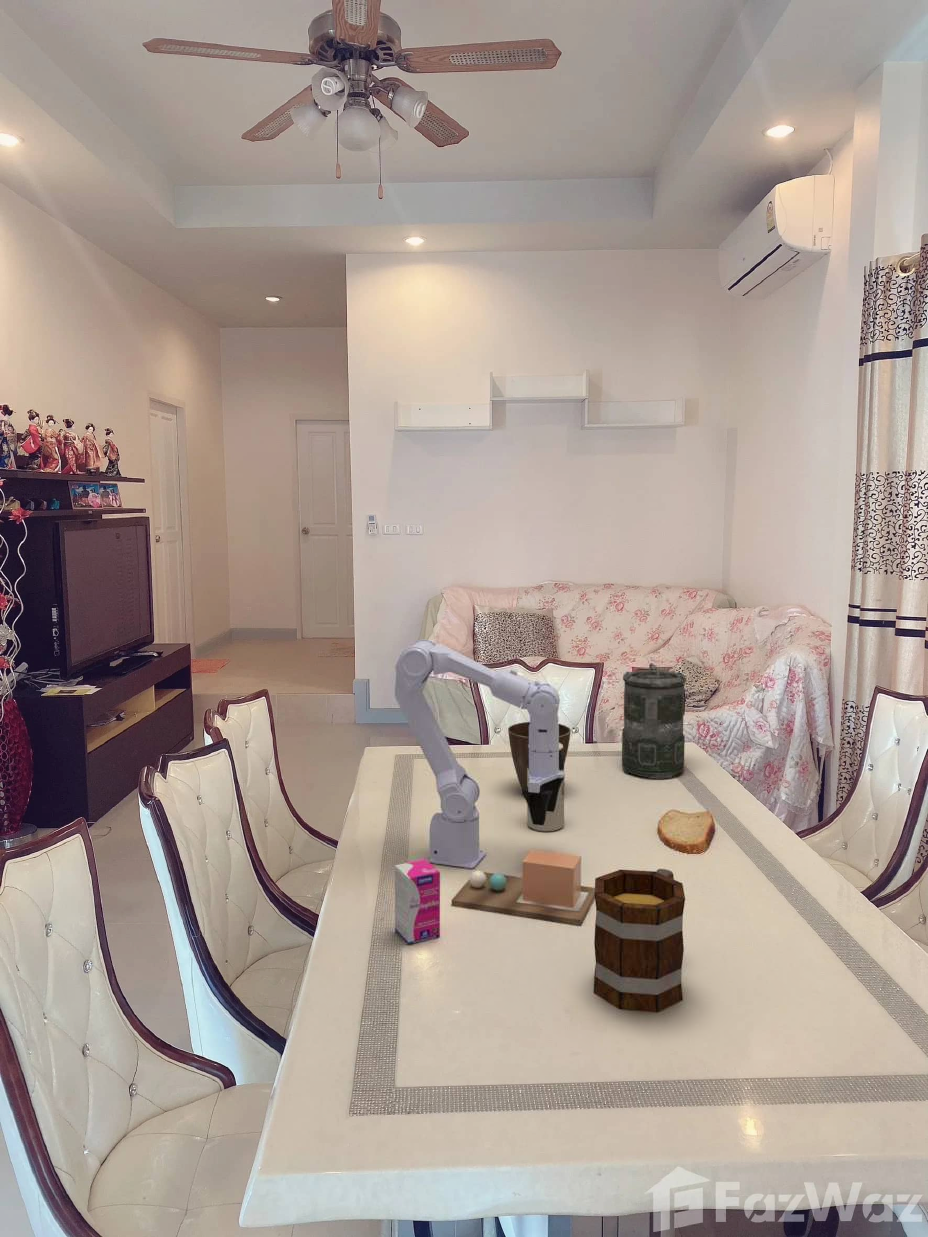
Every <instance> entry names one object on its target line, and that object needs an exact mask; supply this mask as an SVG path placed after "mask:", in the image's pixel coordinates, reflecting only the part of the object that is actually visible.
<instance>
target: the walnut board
mask: <svg viewBox="0 0 928 1237" xmlns="http://www.w3.org/2000/svg"><path fill="white" fill-rule="evenodd" d="M482 872H483V873H484V874H485V876H486V883H485V884H484V885H483V886H482V887H480V888H476V887H474V886H472V885H471V883H470V878H469V879H468V880H467V882H465V883H464V885H463V886H461V888H460V889H459V891H458V892H457V893H456V894H455V895H454V897H453V898H452V899H451V906H452V907H453V906H454V907H459V908H464V907H465V909H466V908H467V909H471V908H472V909H471V910H477V909H480V910H479V911H483V910H486V911H485V912H490V913H496V912H498V914H502V913H504V914H503V915H509V916H510V915H511V916H515V917H522V918H523V917H524V918H530V919H534V920H541V921H547V922H555V923H561V924H566V925H574V926H579V927H580V926H582V924H583V923H584V921H585V919H586V916H587V914H588V913H589V912H590V909H591V906H592V905H593V903H594V901H595V887H592V886H584V885H581V895H580V897H579V898H578V900H577V902H576V904H575V906H574V908H571V907H565V906H558V905H551V904H545V903H538V902H531V901H525V900H523V876H514V875H507V874H502V875H503V876H504V877H505V878H506V886H505V887H504V889H502V890H500V891H496V890H494V889H492V888H491V886H490V878H491V876H492V875H494V874H495V873H493V872H487V871H482Z"/></svg>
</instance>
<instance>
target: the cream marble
mask: <svg viewBox="0 0 928 1237" xmlns="http://www.w3.org/2000/svg"><path fill="white" fill-rule="evenodd" d="M483 872H484V871H482V870H474V871H473V872H471V873H470V875H469V879H470V883H471V885H472V886H474V887H476V888H480V887H482V886H483V885H484V884H485V883H486V876H485V874H484V873H483Z"/></svg>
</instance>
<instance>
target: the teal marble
mask: <svg viewBox="0 0 928 1237" xmlns="http://www.w3.org/2000/svg"><path fill="white" fill-rule="evenodd" d="M503 875H504V874H502V873H500V872H498V873H496V872H495V873H494V875H492V876H491V878H490V886H491V888H492V889H494V890H496V891H500V890H502V889H504V887H505V886H506V878H505V877H504V876H503Z"/></svg>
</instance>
